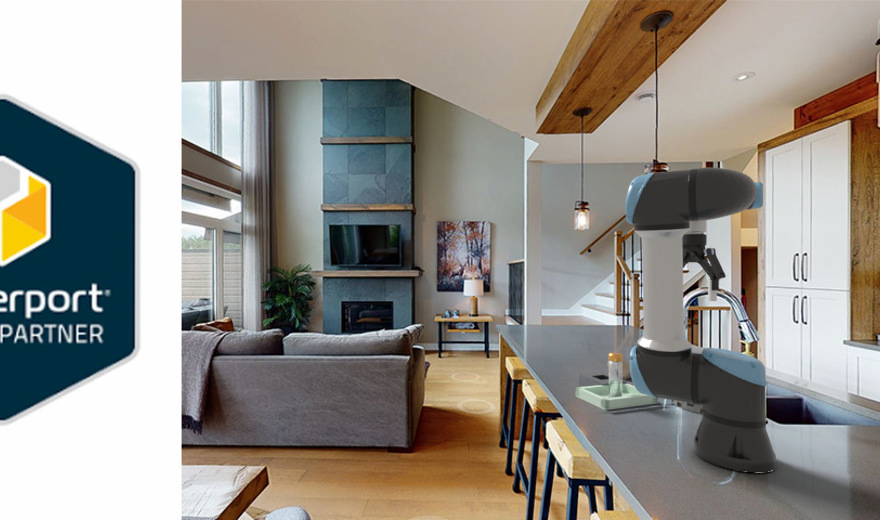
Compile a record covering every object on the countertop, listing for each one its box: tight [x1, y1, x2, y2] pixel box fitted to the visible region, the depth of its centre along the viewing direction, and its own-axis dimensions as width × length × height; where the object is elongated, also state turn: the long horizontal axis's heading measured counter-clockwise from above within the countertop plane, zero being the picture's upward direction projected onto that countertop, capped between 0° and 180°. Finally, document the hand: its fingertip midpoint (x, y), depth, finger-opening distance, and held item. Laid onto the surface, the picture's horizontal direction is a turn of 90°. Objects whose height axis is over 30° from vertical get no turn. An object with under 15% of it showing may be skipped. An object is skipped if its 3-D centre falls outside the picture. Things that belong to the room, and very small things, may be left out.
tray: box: [575, 382, 658, 411], centre depth 133 cm, size 20×14×3 cm
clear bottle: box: [607, 352, 624, 398], centre depth 133 cm, size 4×4×14 cm
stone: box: [606, 359, 632, 380], centre depth 160 cm, size 10×7×10 cm
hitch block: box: [578, 371, 628, 387], centre depth 146 cm, size 12×10×4 cm
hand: (692, 299), depth 138 cm, fingers open, 13 cm apart
